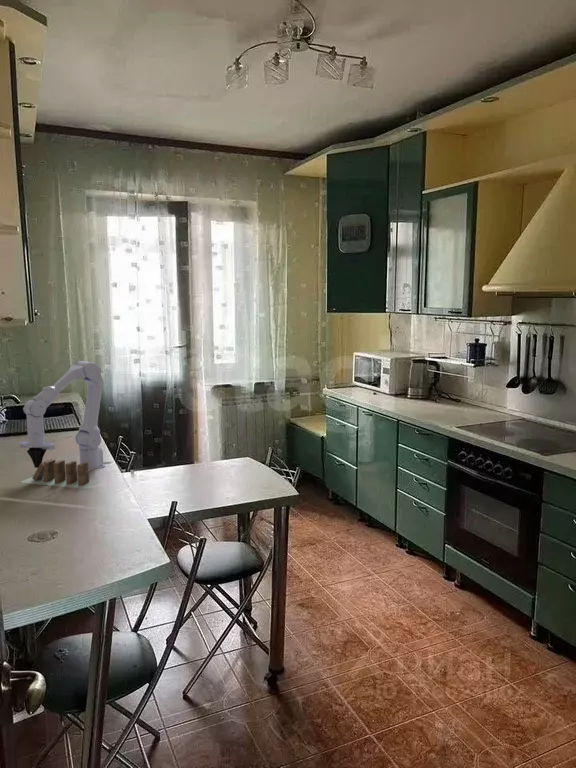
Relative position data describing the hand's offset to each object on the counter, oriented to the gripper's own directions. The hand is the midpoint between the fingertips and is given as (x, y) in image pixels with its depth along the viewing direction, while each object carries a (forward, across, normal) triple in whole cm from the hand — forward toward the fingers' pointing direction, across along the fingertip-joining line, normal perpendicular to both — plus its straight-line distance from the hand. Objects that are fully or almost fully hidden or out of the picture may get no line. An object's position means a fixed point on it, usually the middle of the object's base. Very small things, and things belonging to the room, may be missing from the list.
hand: (37, 467), depth 220 cm
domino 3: (+5, +10, 0) cm, 11 cm away
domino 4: (+5, +14, 0) cm, 15 cm away
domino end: (+5, +20, 0) cm, 20 cm away
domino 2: (+5, +4, 0) cm, 7 cm away
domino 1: (+4, 0, 0) cm, 4 cm away
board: (+5, +10, 0) cm, 11 cm away
